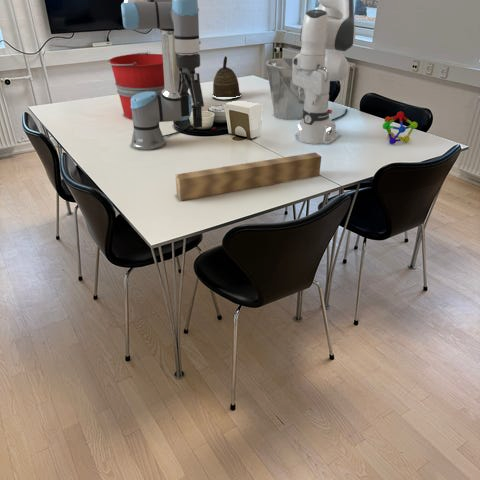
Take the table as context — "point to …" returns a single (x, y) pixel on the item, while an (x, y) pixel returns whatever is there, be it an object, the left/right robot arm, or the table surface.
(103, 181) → the table surface
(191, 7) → the left robot arm
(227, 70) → the bell
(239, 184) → the beam
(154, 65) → the bucket
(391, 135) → the educational toy
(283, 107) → the bucket
